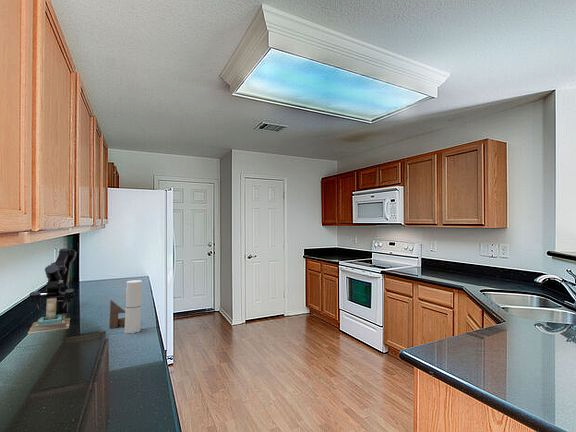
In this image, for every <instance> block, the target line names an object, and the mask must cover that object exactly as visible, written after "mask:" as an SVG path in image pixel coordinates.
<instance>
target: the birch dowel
mask: <svg viewBox="0 0 576 432" xmlns="http://www.w3.org/2000/svg"><path fill="white" fill-rule="evenodd" d="M56 300H57V298H52V297H47V298H46V306H45V309H46V311H45V317H46V320H52V319H56V316H57V314H56Z"/></svg>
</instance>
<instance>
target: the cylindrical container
mask: <svg viewBox="0 0 576 432" xmlns="http://www.w3.org/2000/svg"><path fill="white" fill-rule="evenodd" d="M125 290H126V291H125V304H126V307H125V309H124V311H125V313H124V318H125V326H124V334H127V333H131V334H136V333H135V332H137V333H139V332H141V324H142V323H141V321H142V320H141V319H142V318H141V317H142V298H143V297H142V295H143V294H142V293H143V280H142V279H141V280H140V279H136V280H135V279H134V280H133V279H132V280H127V281H126V287H125Z"/></svg>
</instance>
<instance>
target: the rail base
mask: <svg viewBox="0 0 576 432" xmlns="http://www.w3.org/2000/svg"><path fill="white" fill-rule="evenodd" d="M39 320H40V318H38V320H37V321H36V322H33V323H32V324H31V327H29V330H28V332H27V335H28V334H34V333H35V334H36V333H44V332H50V331H59V330H66V329H69V328H70V323H71V322H70V321H71V318H70V317H68V318H66V315H62V322H60V323H52V324H44V325H38V322H39Z"/></svg>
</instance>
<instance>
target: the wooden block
mask: <svg viewBox="0 0 576 432" xmlns="http://www.w3.org/2000/svg"><path fill="white" fill-rule="evenodd" d="M109 305H110V306H109V322H108V323H109V329H115V328H119V327H125V317H122V318H119V314H125V309H123V308H122V307H121V306H120V305H118V303H116V302H115V301H113V300H112V299H110V303H109ZM124 306H125V307H126V303H125V305H124Z"/></svg>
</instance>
